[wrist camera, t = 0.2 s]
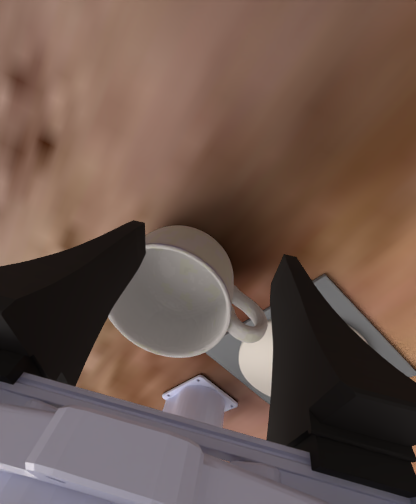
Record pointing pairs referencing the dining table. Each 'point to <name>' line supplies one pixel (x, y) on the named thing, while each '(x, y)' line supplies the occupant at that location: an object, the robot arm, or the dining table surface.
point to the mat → (230, 346)
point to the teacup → (184, 297)
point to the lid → (261, 360)
